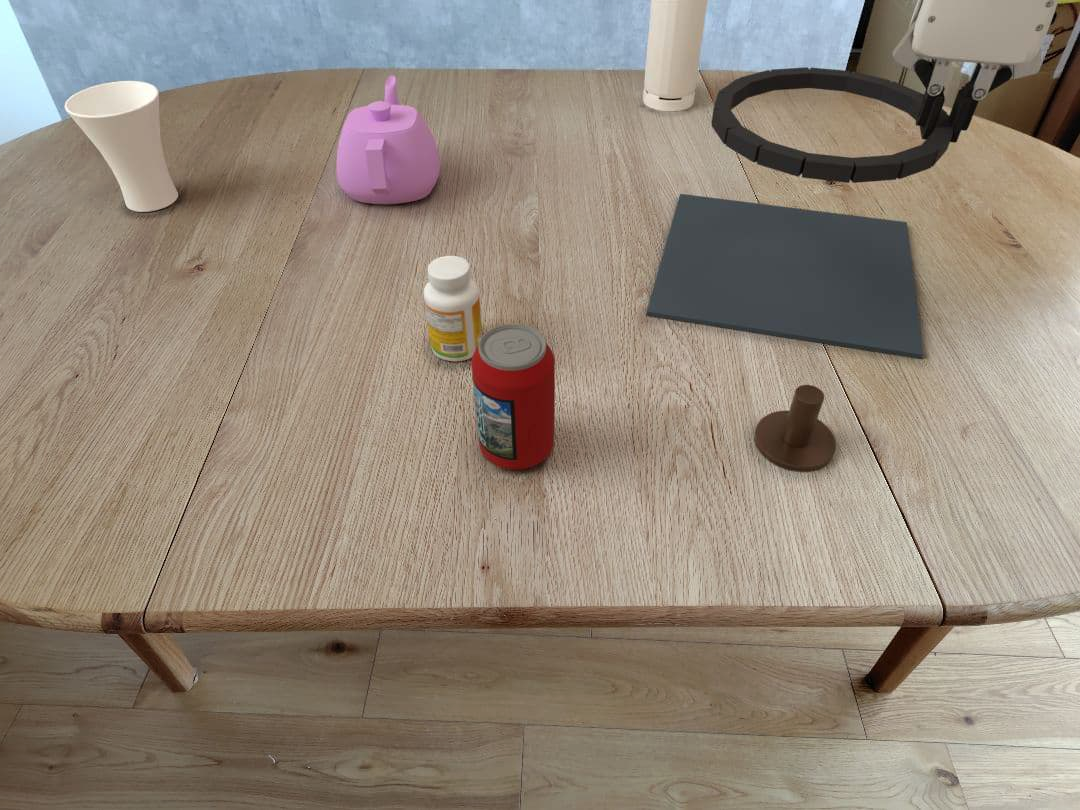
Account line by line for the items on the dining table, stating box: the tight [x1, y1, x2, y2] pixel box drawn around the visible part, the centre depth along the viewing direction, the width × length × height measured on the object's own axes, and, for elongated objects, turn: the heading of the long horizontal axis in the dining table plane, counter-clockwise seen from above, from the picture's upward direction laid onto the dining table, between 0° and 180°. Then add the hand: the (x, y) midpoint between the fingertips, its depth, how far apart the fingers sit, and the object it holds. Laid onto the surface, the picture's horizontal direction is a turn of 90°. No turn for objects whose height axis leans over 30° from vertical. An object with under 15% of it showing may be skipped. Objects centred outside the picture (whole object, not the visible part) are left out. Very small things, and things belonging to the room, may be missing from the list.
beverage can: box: [470, 323, 556, 470], centre depth 65 cm, size 7×7×12 cm
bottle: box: [642, 0, 708, 112], centre depth 113 cm, size 8×8×28 cm
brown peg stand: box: [754, 384, 837, 473], centre depth 67 cm, size 7×7×6 cm
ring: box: [711, 66, 953, 184], centre depth 74 cm, size 22×22×2 cm
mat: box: [645, 193, 925, 360], centre depth 89 cm, size 28×26×1 cm
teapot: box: [336, 75, 441, 205], centre depth 100 cm, size 13×20×11 cm
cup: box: [64, 80, 179, 213], centre depth 96 cm, size 10×10×14 cm
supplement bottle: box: [423, 255, 484, 362], centre depth 76 cm, size 5×5×10 cm
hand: (937, 133), depth 72 cm, fingers closed on ring, 1 cm apart
